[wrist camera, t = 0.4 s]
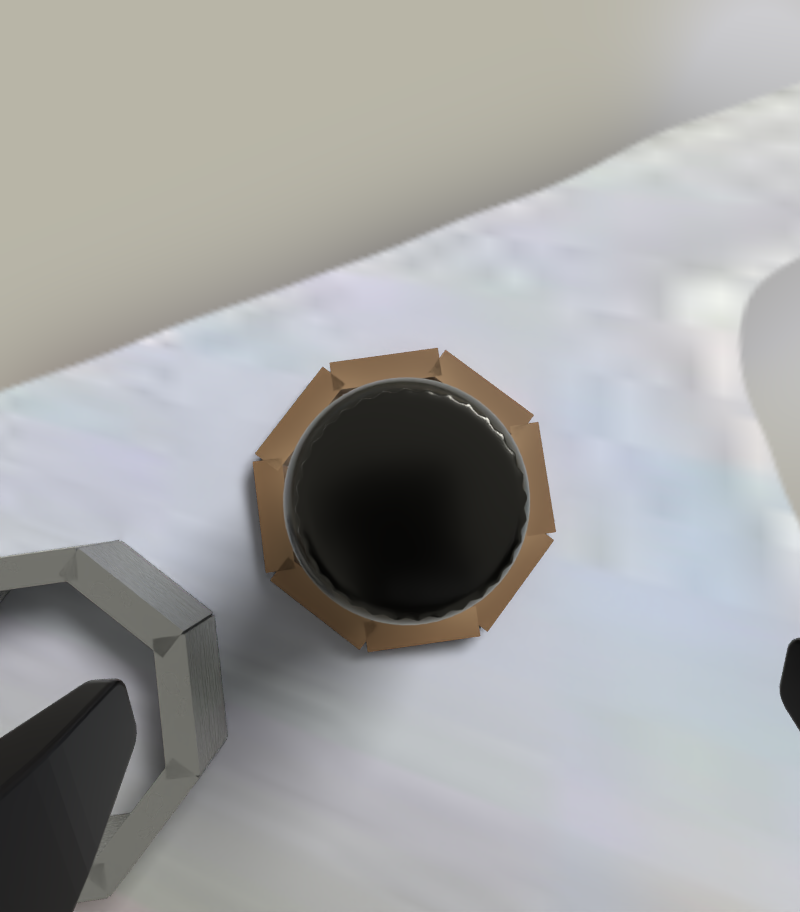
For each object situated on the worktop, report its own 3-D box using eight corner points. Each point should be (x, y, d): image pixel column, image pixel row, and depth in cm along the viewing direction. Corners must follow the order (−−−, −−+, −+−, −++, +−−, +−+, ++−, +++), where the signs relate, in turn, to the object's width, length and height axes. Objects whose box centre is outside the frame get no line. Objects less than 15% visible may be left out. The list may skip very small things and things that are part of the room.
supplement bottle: (309, 559, 22) (202, 636, 10) (341, 404, 23) (274, 303, 11) (466, 590, 22) (547, 705, 10) (495, 434, 22) (603, 366, 11)
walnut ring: (431, 697, 22) (432, 707, 21) (208, 523, 22) (199, 525, 21) (597, 469, 22) (606, 468, 21) (376, 307, 23) (375, 298, 22)
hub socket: (94, 915, 21) (42, 986, 18) (-135, 725, 22) (-221, 763, 19) (281, 666, 22) (262, 694, 19) (55, 489, 22) (2, 488, 19)
